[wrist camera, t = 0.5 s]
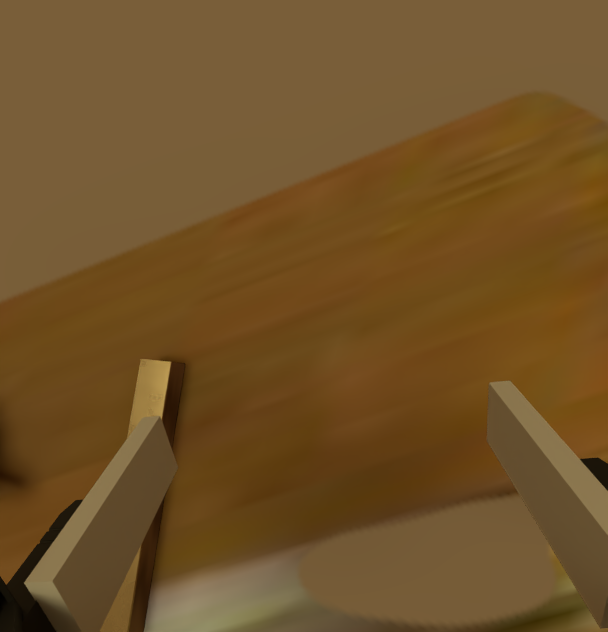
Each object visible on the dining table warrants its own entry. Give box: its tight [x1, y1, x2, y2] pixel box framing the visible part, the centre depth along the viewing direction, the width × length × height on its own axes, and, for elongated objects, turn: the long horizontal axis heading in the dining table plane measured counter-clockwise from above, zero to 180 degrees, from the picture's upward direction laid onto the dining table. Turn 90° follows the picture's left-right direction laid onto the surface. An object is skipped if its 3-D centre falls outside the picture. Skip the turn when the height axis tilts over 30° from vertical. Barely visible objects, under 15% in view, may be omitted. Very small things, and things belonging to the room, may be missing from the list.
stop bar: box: [99, 359, 185, 632], centre depth 31 cm, size 22×3×3 cm, turn 174°
